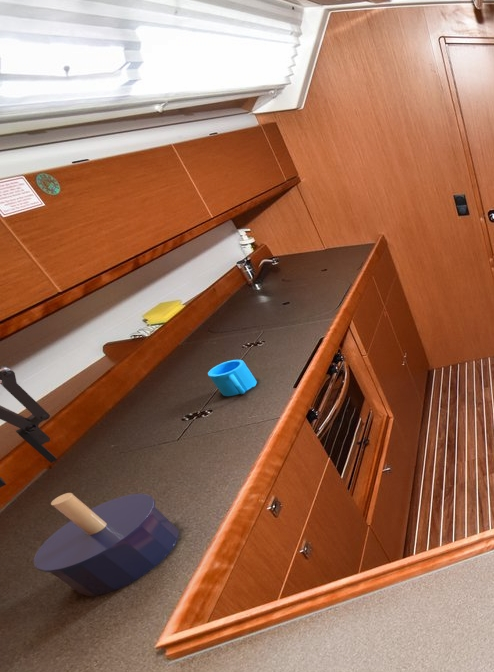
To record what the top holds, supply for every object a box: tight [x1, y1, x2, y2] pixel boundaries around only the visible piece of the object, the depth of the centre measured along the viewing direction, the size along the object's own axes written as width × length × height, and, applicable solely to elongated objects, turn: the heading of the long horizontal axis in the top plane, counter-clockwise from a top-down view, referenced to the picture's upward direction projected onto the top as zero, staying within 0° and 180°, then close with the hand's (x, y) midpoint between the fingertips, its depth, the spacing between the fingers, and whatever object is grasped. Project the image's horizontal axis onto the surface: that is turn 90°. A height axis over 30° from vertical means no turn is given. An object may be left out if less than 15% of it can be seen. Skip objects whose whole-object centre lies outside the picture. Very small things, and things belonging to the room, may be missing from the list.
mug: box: [207, 359, 258, 397], centre depth 122 cm, size 12×8×8 cm
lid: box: [33, 492, 156, 573], centre depth 74 cm, size 15×15×10 cm
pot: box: [50, 506, 180, 597], centre depth 78 cm, size 14×14×10 cm
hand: (26, 470), depth 67 cm, fingers open, 5 cm apart
